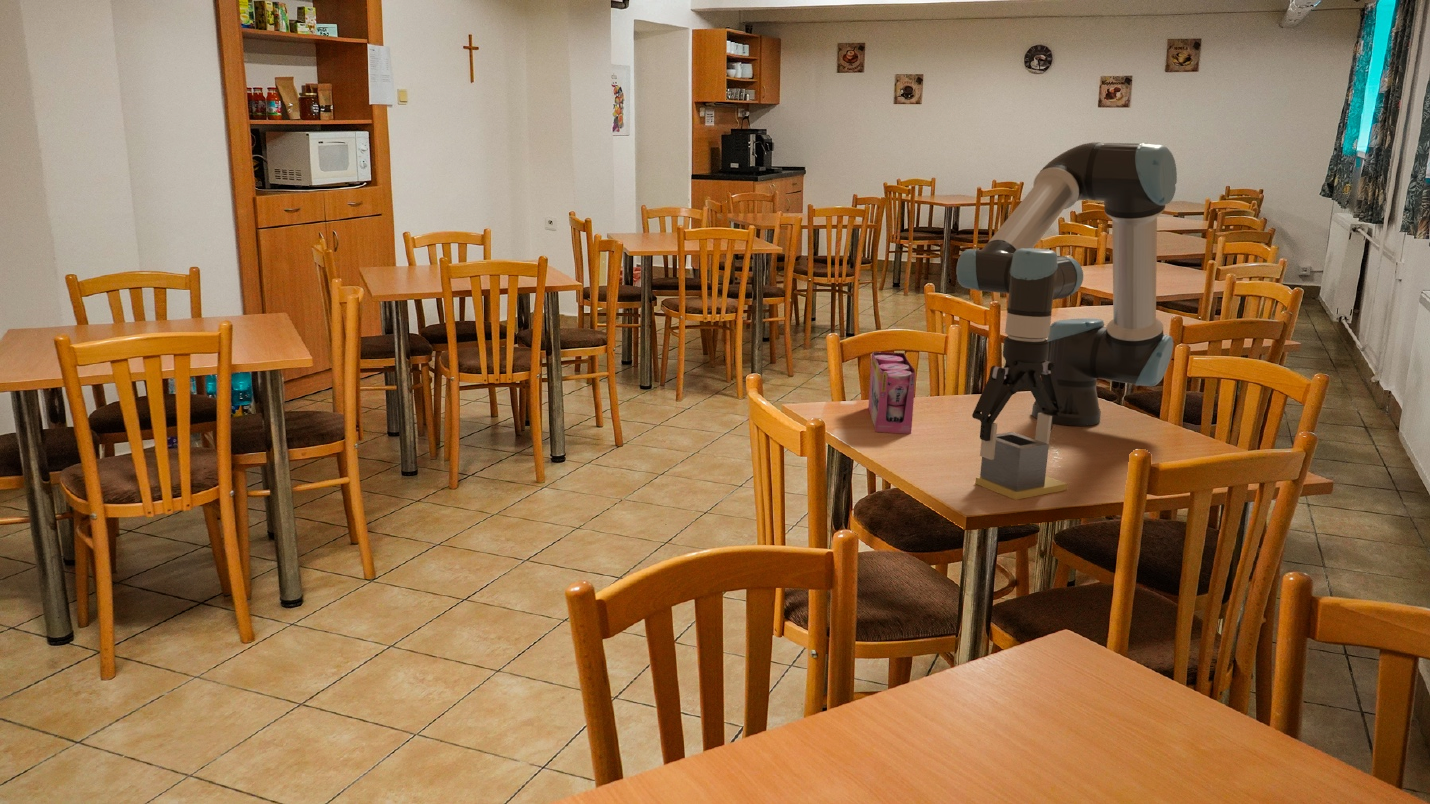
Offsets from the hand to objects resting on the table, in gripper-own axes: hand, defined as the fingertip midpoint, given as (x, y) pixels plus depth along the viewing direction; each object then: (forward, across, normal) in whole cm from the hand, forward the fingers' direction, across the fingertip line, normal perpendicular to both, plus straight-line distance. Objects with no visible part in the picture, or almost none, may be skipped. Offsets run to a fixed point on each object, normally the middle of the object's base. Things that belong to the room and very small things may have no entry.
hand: (1014, 453), depth 191 cm
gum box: (+7, -11, -48) cm, 50 cm away
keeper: (+7, -2, 0) cm, 7 cm away
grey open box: (+6, 0, 0) cm, 6 cm away
